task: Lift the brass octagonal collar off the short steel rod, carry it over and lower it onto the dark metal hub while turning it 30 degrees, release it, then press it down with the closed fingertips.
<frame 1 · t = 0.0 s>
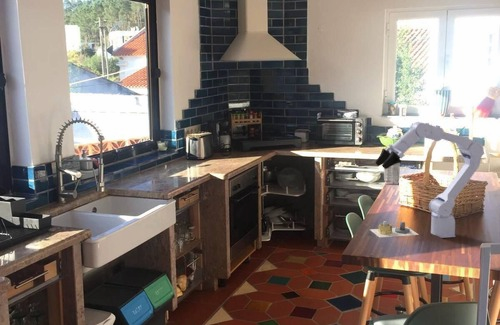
hand: (380, 165, 235), 32 cm above the table, tool tilted 50°, fingers open, 7 cm apart
brass collar: (385, 232, 247), point 1 cm above the table, touching assembly board
assembly board: (393, 234, 248), on the table
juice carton: (391, 183, 352), on the table
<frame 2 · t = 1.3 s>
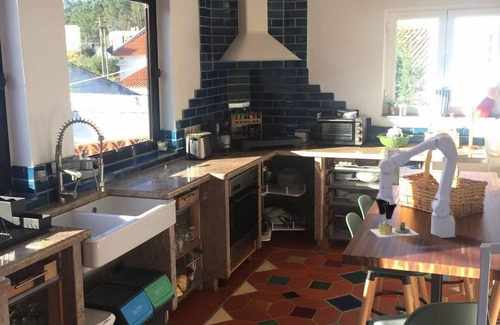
hand: (385, 216, 246), 8 cm above the table, tool pointing down, fingers open, 7 cm apart
nothing on the table moved.
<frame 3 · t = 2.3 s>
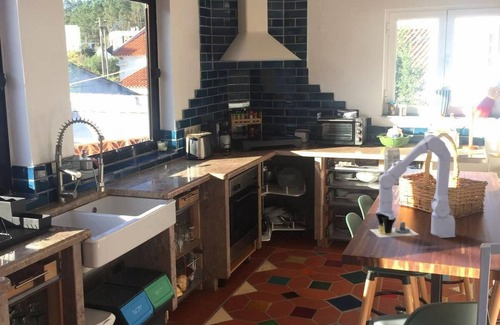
hand: (385, 231, 247), 2 cm above the table, tool pointing down, fingers closed on brass collar, 5 cm apart
brass collar: (385, 232, 247), point 1 cm above the table, touching assembly board, gripper
everything else where it was.
when the fingers open (4 cm above the table, at t = 5.8 s): brass collar drops 2 cm, resting on assembly board.
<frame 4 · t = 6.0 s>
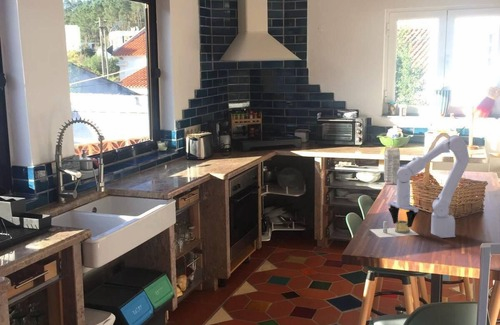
hand: (402, 224, 247), 4 cm above the table, tool pointing down, fingers open, 7 cm apart
brass collar: (402, 229, 248), point 2 cm above the table, touching assembly board
everything else where it was.
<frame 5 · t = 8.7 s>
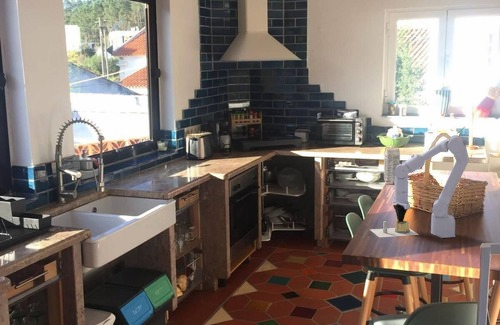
hand: (400, 220, 249), 5 cm above the table, tool pointing down, fingers closed, pressing on brass collar
brass collar: (402, 229, 248), point 2 cm above the table, touching assembly board, gripper
everything else where it was.
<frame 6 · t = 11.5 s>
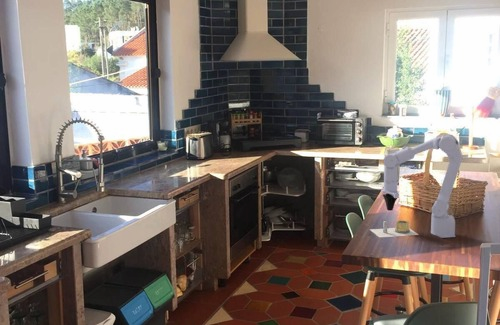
hand: (389, 210, 252), 9 cm above the table, tool pointing down, fingers closed
brass collar: (402, 229, 248), point 2 cm above the table, touching assembly board
everything else where it was.
at the end: brass collar 0.0 cm from the target spot on the assembly board, point 1.8 cm above the assembly board's base; brass collar tilted 0°; the gripper is holding nothing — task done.
